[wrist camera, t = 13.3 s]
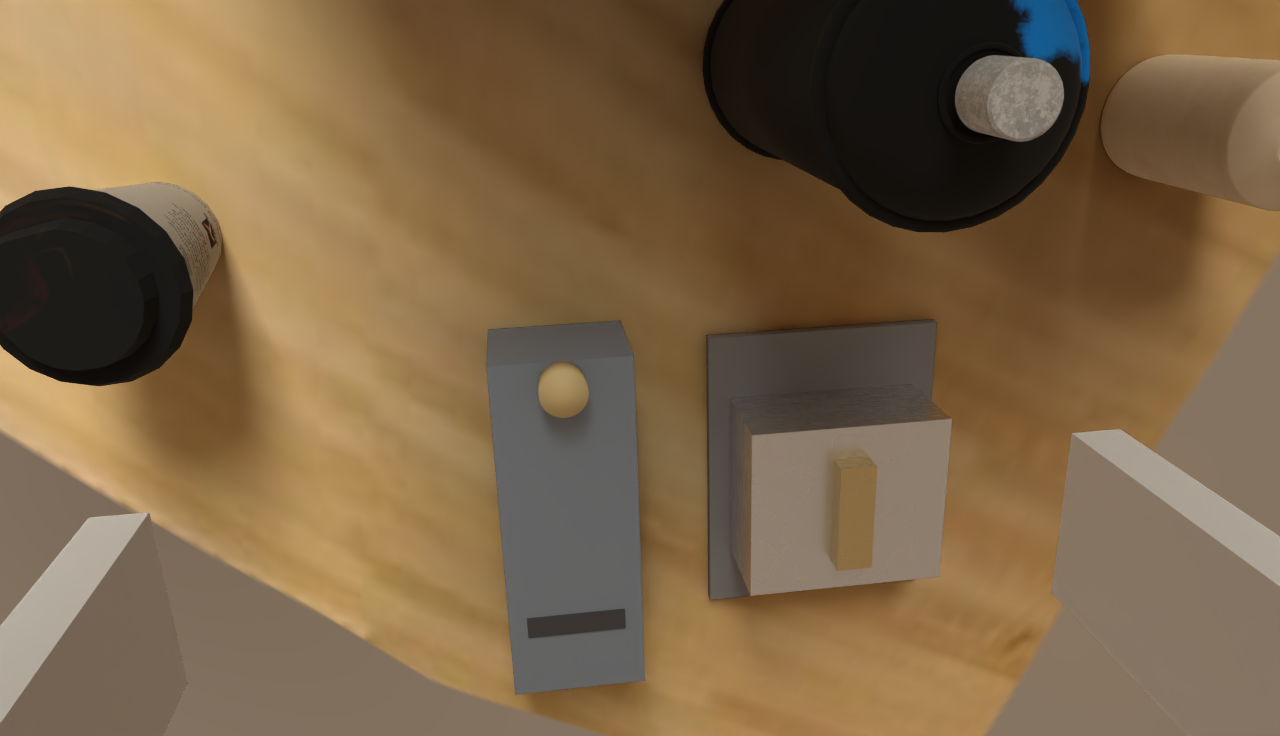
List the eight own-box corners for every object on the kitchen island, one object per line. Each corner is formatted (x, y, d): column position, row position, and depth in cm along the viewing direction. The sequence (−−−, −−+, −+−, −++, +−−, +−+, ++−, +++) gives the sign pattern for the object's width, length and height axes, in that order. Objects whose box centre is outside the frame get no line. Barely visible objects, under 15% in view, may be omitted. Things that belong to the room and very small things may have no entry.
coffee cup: (269, 185, 41) (201, 235, 32) (231, 336, 43) (156, 425, 34) (92, 128, 40) (-34, 163, 30) (60, 288, 42) (-67, 367, 32)
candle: (1142, 32, 44) (1315, 37, 35) (1234, 85, 45) (1424, 104, 36) (1076, 147, 45) (1225, 181, 36) (1167, 195, 47) (1333, 241, 37)
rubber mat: (706, 335, 46) (708, 338, 46) (932, 319, 47) (937, 322, 47) (708, 594, 51) (710, 599, 50) (914, 573, 52) (917, 579, 52)
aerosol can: (796, 197, 44) (1010, 331, 26) (662, 72, 42) (791, 118, 23) (926, 53, 43) (1251, 83, 24) (794, -87, 40) (1047, -172, 22)
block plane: (487, 329, 45) (485, 376, 39) (620, 320, 45) (637, 365, 39) (514, 631, 50) (515, 712, 44) (631, 619, 51) (648, 697, 45)
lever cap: (729, 397, 47) (757, 444, 42) (912, 383, 48) (962, 427, 43) (729, 546, 49) (755, 608, 44) (902, 530, 50) (948, 588, 45)
